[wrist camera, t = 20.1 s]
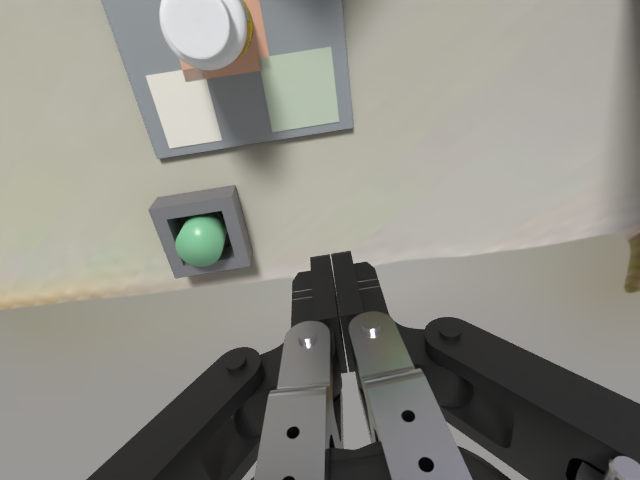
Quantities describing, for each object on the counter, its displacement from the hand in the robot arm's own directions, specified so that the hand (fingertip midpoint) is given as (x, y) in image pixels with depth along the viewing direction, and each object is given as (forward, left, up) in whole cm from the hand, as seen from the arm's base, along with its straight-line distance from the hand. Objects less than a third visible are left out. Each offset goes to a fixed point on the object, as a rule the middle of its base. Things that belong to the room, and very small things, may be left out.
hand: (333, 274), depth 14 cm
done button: (+12, +9, -25) cm, 29 cm away
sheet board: (+5, -8, -26) cm, 27 cm away
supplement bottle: (+6, -9, -25) cm, 27 cm away
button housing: (+12, +9, -26) cm, 30 cm away
